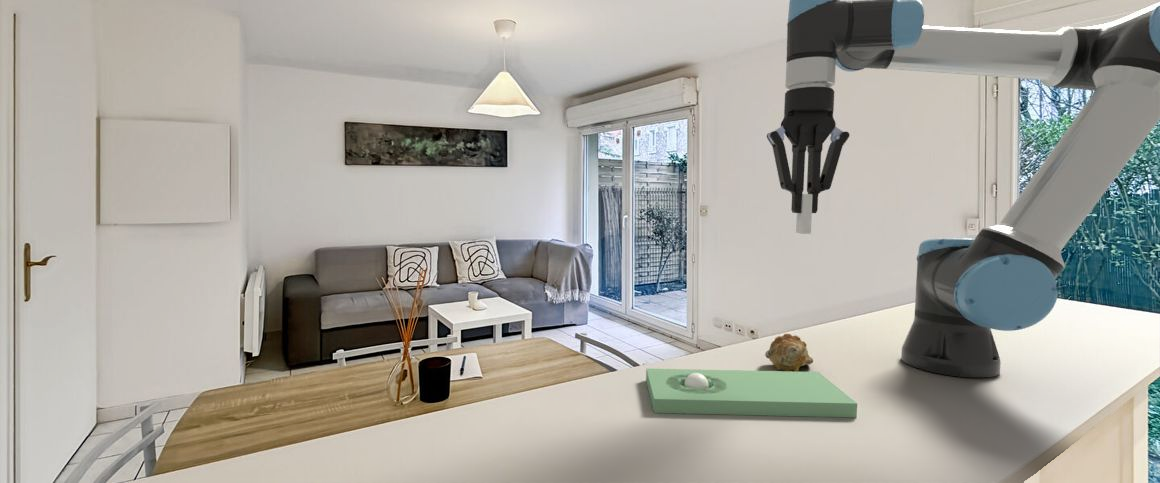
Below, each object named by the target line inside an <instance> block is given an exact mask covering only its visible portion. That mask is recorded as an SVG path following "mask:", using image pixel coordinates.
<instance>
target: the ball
mask: <svg viewBox="0 0 1160 483" xmlns="http://www.w3.org/2000/svg"><path fill="white" fill-rule="evenodd" d="M684 385H685V387H687V388H692V389H707V388H709V384H708V381H707V379H706V377H705V376H704V375H702V374H700V373H692V374H690V375H689V376H688V377H687V378H686V380H685V384H684Z"/></svg>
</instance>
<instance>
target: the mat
mask: <svg viewBox="0 0 1160 483" xmlns="http://www.w3.org/2000/svg"><path fill="white" fill-rule="evenodd" d="M645 370H646V371H645V373H646V374H645V382H646V386H647V390H648V394H649V398H650V403H651V406H653V407H652V409H653V410H654V411H653V413H654V412H655V413H654V414H683V413H684V414H689V415H690V414H691V415H693V414H694V415H732V416H733V415H734V416H735V415H736V416H773V417H775V416H777V417H780V416H781V417H818V418H824V417H825V418H857V414H858V403H857V402H856V401H855V400H854V399H852V397H850V396H849V395H848V394H846V393H845V392H844V391H843V390H841V389H840V388H839V387H838V386H837V385H835V384H834V383H833V382H831V381H830V380H829V379H828V378H827V377H825V375H824V374H822V373H820V371H793V370H792V371H784V370H779V371H778V370H736V369H735V370H732V369H692V368H691V369H686V368H684V369H683V368H678V369H677V368H645ZM692 373H700V374H702V375H704V376H705V377H706V379H707V381H708V384H709V388H707V389H692V388H687V387H685V385H684V384H685V380H686V378H687V377H688V376H689V375H690V374H692Z"/></svg>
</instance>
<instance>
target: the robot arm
mask: <svg viewBox="0 0 1160 483" xmlns="http://www.w3.org/2000/svg"><path fill="white" fill-rule="evenodd" d="M788 6H789V7H788V15H787V17H788V18H787V23H786V28H787V29H786V30H787V31H786V64H785V65H786V66H785V86H784V87H785V88H786V89H788V90H787V91H786V92H785V93H784V109H783V119H782V121H781V123H780V126H779V127H778V128H776V129H775V130H773V131H771V132H768V133H767V134H766V139H767V140H768V142H769V143H770V145H771V147H772V151H773V156H774V161H775V166H776V171H777V176H778V180H779V181H778V182H779V185H780V188H781V189H782V190H784V191H787V192H790V194H791V212H792V213H793V214H796V227H795V233H796V234H801V235H802V234H803V235H811V234H812V214H817V212H818V209H819V208H818V206H819V204H818V203H819V194H820V193H821V192H824V191H828V190H831V187H832V185H833V181H834V176H835V173H836V170H837V168H838V162H839V160H840V156H841V153H842V149H843V146H844V145H845V144H846V142H847V141H848V139H849V137H850V133H849V131H843V130H841V129H840V128H838V127H837V124H836V123H837V122H836V121H835V119H834V111H835V110H834V108H835V106H834V105H835V104H834V103H835V89H833V88H832V87H834V85H835V84H836V67H838V68H839V69H840V70H842V71H845V72H858V71H862V70H864V69H877V70H879V69H881V70H883V69H885V70H894V71H895V70H897V71H911V72H912V71H913V72H923V73H936V74H937V73H939V74H940V73H941V74H953V75H967V76H980V77H981V76H982V77H995V78H997V77H998V78H1009V79H1010V78H1011V79H1026V80H1039V81H1040V82H1041V83H1042V85H1043V86H1044V87H1048V88H1049V87H1050V88H1060V89H1061V88H1062V89H1064V88H1065V89H1073V90H1083V91H1094V92H1093V93H1092V95H1091V96H1090V98H1089V99H1088V100H1087V101H1086V103H1085V104H1084V106H1083V107H1082V108H1081V109H1080V111H1079V112H1078V114H1077V115H1076V117H1075V118H1074V119H1073V121H1072V122H1071V124H1070V125H1069V126H1068V128H1067V129H1066V130H1065V132H1064V133H1063V135H1062V136H1061V138H1060V139H1059V141H1057V143H1056V145H1055V146H1054V147H1053V148H1052V150H1051V152H1050V153H1049V154H1048V155H1047V157H1046V159H1044V161H1043V163H1042V164H1041V165H1040V166H1039V168H1038V170H1037V171H1036V172H1035V174H1034V175H1033V176H1032V178H1031V179H1030V180H1029V182H1028V183H1027V185H1026V186H1025V188H1024V189H1023V191H1022V192H1021V193H1020V194H1019V195H1018V197H1017V199H1016V200H1015V201H1014V203H1013V204H1012V206H1011V207H1010V208H1009V210H1008V211H1007V212H1006V213H1005V215H1004V216H1003V218H1002V219H1001V221H1000V222H999V223H997V224H995V225H990V226H985V227H983V228H981V230H980V231H978V234H977V235H976V237H974V238H933V239H926V240H923V241H922V242H921V243H920V244H919V246H918V253H917V255H916V261H917V266H916V280H915V281H916V284H915V299H914V300H915V301H914V302H915V305H914V315H913V316H914V317H913V322H912V324H911V326H910V327H909V328H910V329H909V331H908V333H907V335H906V337H905V340H904V342H903V344H902V346H901V356H900V359H901V361H902V362H903V363H905V364H906V365H908V366H910V367H913V368H915V369H919V370H922V371H925V372H929V373H935V374H940V375H944V376H945V375H946V376H952V377H960V378H971V379H972V378H973V379H974V378H975V379H977V378H978V379H979V378H982V379H983V378H993V377H997V376H999V375H1000V374H1001V364H1002V362H1001V358H1000V354H999V351H998V348H997V345H996V340H995V339H994V335H993V332H992V330H995V331H1002V332H1003V331H1004V332H1007V331H1008V332H1012V331H1019V330H1023V329H1024V330H1025V329H1027V328H1029V327H1032V326H1035V325H1037V324H1038V323H1039V322H1041V321H1043V320H1044V319H1045V318H1046V317H1047V316H1048V315H1049V314H1050V313H1051V311H1053V309H1054V307H1055V305H1056V302H1057V300H1058V294H1059V291H1058V289H1057V284H1058V283H1057V281H1056V279H1057V277H1059V274H1060V273H1062V271H1063V270H1064V268H1065V266H1066V265H1065V262H1064V259H1063V257H1062V256H1063V255H1062V250H1063V249H1064V247H1065V246H1066V245H1067V243H1068V242H1069V241H1070V239H1071V238H1072V237H1073V236H1074V234H1075V233H1076V231H1077V230H1078V229H1079V228H1080V227H1081V224H1082V223H1083V222H1084V221H1085V219H1086V218H1087V217H1088V216H1089V214H1090V213H1091V211H1092V210H1093V209H1094V208H1095V206H1096V205H1097V203H1098V202H1099V200H1101V198H1102V196H1103V195H1104V194H1105V193H1106V192H1107V190H1108V189H1109V187H1110V186H1111V185H1112V184H1113V182H1114V181H1115V179H1116V178H1117V177H1118V175H1119V174H1120V173H1121V172H1122V170H1123V169H1124V168H1125V167H1126V165H1127V164H1128V162H1129V161H1130V160H1131V159H1132V157H1133V156H1134V155H1135V153H1136V152H1137V150H1138V149H1139V148H1140V146H1141V145H1142V143H1144V141H1145V140H1146V138H1147V137H1148V136H1149V134H1150V133H1151V131H1152V130H1153V129H1154V128H1155V127H1156V125H1157V123H1158V122H1159V121H1160V2H1158V3H1155V4H1153V5H1150V6H1148V7H1146V8H1145V7H1144V8H1142V9H1141V10H1139V11H1136V12H1134V13H1131V14H1129V15H1127V16H1124V17H1122V18H1119V19H1116V20H1114V21H1110V22H1107V23H1104V24H1098V25H1093V26H1087V27H1086V26H1084V27H1077V26H1076V27H1075V26H1074V27H1073V26H1066V27H1065V26H1064V27H1062V28H1060V29H1059V30H1057V31H1056V32H1045V31H1044V32H1040V31H1024V30H1023V31H1021V30H1005V29H984V28H983V29H982V28H968V27H966V28H965V27H949V26H947V27H945V26H929V25H924V23H925V21H924V20H925V9H924V4H923V2H922V1H921V0H850V1H849V0H848V1H846V0H789V3H788ZM829 136H830V139H829V140H830V141H831V142H830V144H829V146H828V150H827V153H826V157H825V160H824V162H823V166H822V171H821V165H822V164H821V161H822V160H821V159H822V151H823V146H824V145H823V144H824V143H825V141H826V140H827V139H828V137H829ZM785 137H787V140H788V141H789V142H790V143H791V153H792V161H791V162H792V163H791V164H792V166H791V171H790V166H789V161H788V156H787V151H786V146H785V143H784V140H785ZM806 152H807V176H806V177H807V178H806V180H807V181H806V192H807V193H804V188H805V167H806Z"/></svg>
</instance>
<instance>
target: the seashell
mask: <svg viewBox="0 0 1160 483" xmlns="http://www.w3.org/2000/svg"><path fill="white" fill-rule="evenodd" d="M765 357H766V358H767V359H768V360H769V361H770V362H771V363H772V364H773V365H774V366H775V367H776V369H777V370H779V371H792V372H799V370H800V367H803V366H806V365H807V366H809V365H812V364H813V363H814V359H813V357H810V356H809V351H808V349H807V343H806V342H805V341H803V340H802V339H801V337H800V336H798V335H792V334H791V333H785V334H783V335H782V336H779V335H778V336H776V337H775V338H774V340H773V341H771V343H770V347H769V350H767V351H766V352H765Z"/></svg>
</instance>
